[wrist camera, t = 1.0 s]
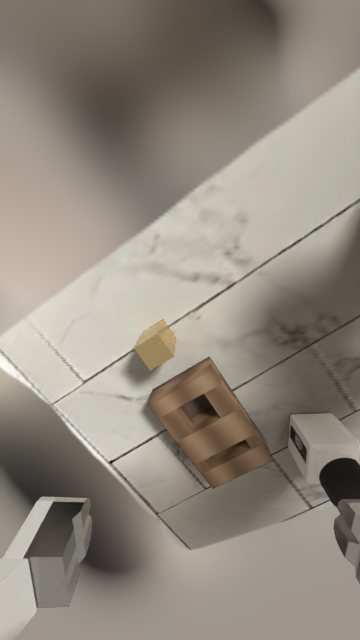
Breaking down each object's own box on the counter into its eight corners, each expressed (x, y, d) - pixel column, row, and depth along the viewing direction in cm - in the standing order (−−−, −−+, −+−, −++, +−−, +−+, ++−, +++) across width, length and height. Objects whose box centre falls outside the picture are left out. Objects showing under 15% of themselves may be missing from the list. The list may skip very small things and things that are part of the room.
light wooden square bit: (163, 318, 39) (157, 333, 32) (176, 337, 40) (173, 356, 33) (143, 331, 40) (133, 348, 32) (156, 349, 41) (150, 370, 33)
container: (287, 448, 45) (326, 520, 33) (289, 413, 44) (332, 476, 31) (327, 447, 45) (382, 519, 33) (332, 412, 43) (392, 474, 31)
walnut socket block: (209, 356, 41) (212, 369, 36) (263, 438, 45) (273, 460, 40) (152, 389, 43) (148, 406, 38) (210, 465, 47) (212, 488, 42)
